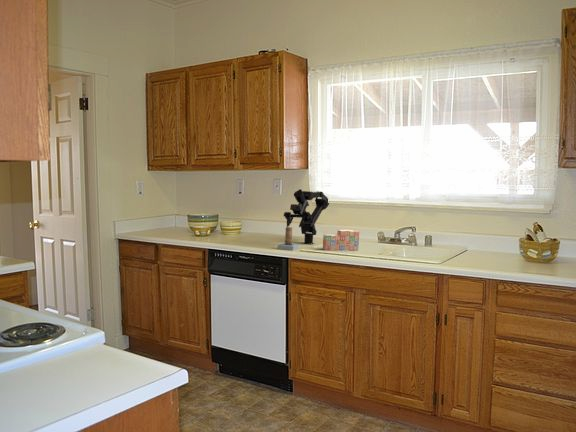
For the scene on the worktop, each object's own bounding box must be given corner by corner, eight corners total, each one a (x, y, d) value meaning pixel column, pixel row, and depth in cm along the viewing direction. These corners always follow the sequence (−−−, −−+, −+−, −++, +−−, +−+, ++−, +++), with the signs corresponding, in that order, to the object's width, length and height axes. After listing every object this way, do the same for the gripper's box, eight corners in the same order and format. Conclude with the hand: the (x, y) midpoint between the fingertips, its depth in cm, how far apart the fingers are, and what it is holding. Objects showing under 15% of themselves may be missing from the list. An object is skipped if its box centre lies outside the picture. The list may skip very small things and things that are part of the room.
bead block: (283, 246, 324) (283, 242, 323) (298, 248, 320) (298, 244, 320) (277, 248, 314) (277, 244, 314) (293, 250, 311) (293, 246, 310)
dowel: (284, 248, 319) (285, 227, 318) (290, 248, 319) (291, 227, 318) (285, 249, 315) (286, 227, 314) (291, 249, 316) (292, 227, 314)
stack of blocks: (325, 250, 317) (326, 230, 316) (322, 248, 323) (323, 229, 322) (358, 250, 321) (359, 231, 320) (355, 249, 327) (356, 230, 326)
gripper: (284, 199, 332) (275, 218, 324) (308, 199, 321) (300, 219, 313) (291, 210, 339) (283, 229, 331) (316, 210, 328) (308, 230, 320)
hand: (293, 226), depth 324 cm, fingers open, 9 cm apart
